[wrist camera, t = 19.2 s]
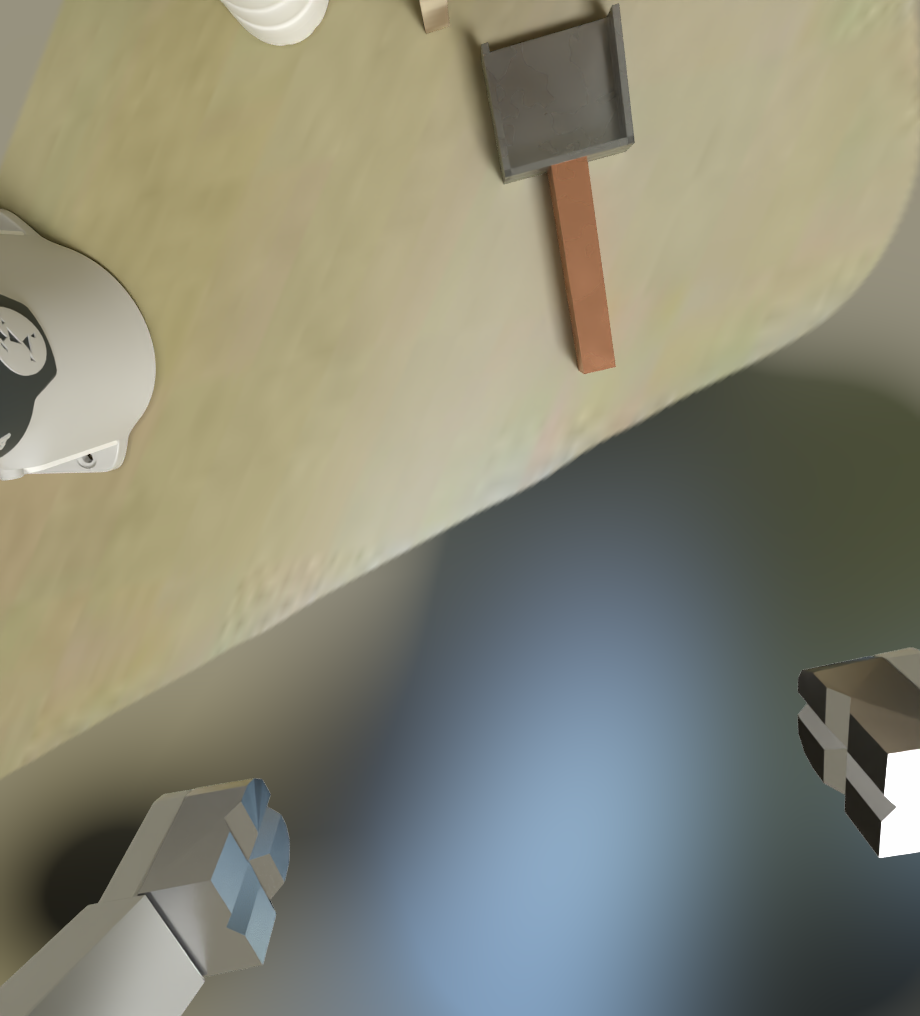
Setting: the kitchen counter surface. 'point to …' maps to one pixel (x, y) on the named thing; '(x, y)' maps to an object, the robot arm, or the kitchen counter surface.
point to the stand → (434, 14)
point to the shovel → (566, 149)
